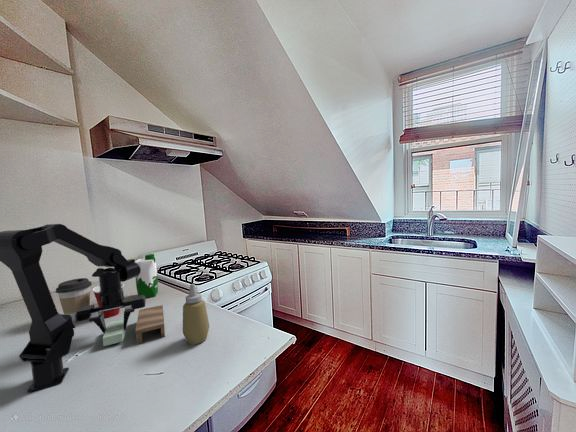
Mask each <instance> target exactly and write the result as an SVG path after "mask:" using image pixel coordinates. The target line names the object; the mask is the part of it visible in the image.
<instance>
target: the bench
mask: <svg viewBox="0 0 576 432" xmlns="http://www.w3.org/2000/svg"><path fill="white" fill-rule="evenodd" d="M137 313H138V314H137V321H136V327H135V338H136V345H141V344H143V341H144V340H143V333H146V332H149V331H154V330H158V329H160V335H161V338H165V337H166V331H165V317H164V316H165V315H164V305H163V304H161V305H156V306H151V307H146V308H140V309H138V312H137Z"/></svg>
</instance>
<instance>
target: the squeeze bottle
mask: <svg viewBox="0 0 576 432" xmlns="http://www.w3.org/2000/svg"><path fill="white" fill-rule="evenodd" d="M209 331H210V322H209V317H208V312H207V306H206V301H205V300H203V299H202V294H201V293H199V292H198V291H197V288H196V285H195V283H191V284H190V285H189V292H188V294H187V295H186V296H185V303H184V304H183V306H182V335H183V336H184V338H185V341H186V343H187V344H189V345H198V344H202V343H203V342H204V341H206V340H207V338H208V335H209Z"/></svg>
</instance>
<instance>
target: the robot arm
mask: <svg viewBox="0 0 576 432" xmlns="http://www.w3.org/2000/svg"><path fill="white" fill-rule="evenodd" d="M53 242H54V243H56V244H58V245H61V246H63V247H65V248H67V249H69V250H71V251H74V252H76V253H78V254H81V255H82V256H85V257H86V258H87V260H88V261H89V262H90V263H91V264H93V265H94V266H96V267H98V268H97V269H96V270H95V271H94V272H93V273H92V275H91V277H92V278H97V277H98V282H99V285H100V292H99V300H100V301H102V306H100V307H99V306H95V305H94V304H90V305H89V306H83V307H81V308H80V309H79V310H78V311H77V312H76V314H75V320H76V321H75V322H76V323H77V322H81V321H86V320H88V321H89V322H93V323H94V324H95V325H96V326H98V328H99V329H100V331H101V332H102V333H103V335H104V334H105V331H106V329H107V325H106V320H105V318H104V312H105V311H110V310H115V309H120V310H121V309H123V308H124V311H123V319H124V330H125V331H126V330H127V325H128V320H129V317H130V316H131V313H134V312H135V310H140V309H144V308H145V307H146V298H145V296H144V295H140V296H138V295H136V296H132V297H131V300H130V299H129V300H126V301H124V300H125V296H124V289H122V288H121V283H122V282H123V283H124V282H127V281H129V280H131V279H134V278H135V277H137V276H138V275H139V274H140V271H141V269H140V267H139V265H138V264H137V263H135V261H136V260H135V259H134V258H130V259H126V258H125V256H124V255H123V254H122V251H121V249H118V248H116V247H113V246H108V245H102V244H99V243H97V242H95V241H93V240H91V239H89V238H88V237H85V236H83V235H82V234H79V233H77V232H76V231H74V230H73V229H70V228H69V227H67V226H66V225H65V224H61V223H51V224H48V223H47V224H44V225H42V226H39V227H33V228H29V229H18V230H15V229H14V230H4V231H3V230H2V231H0V262H1V263H2V264H3V265H4V266H6V267H7V268H8V269H9V270H10V271H11V273H12V275H13V278H14V280H15V283H16V285H17V288H18V290H19V292H20V296H21V298H22V299H23V303H24V304H25V308H26V309H27V312H28V314H29V316H30V319H31V324H30V327H29V331H28V335H29V341H28V343H27V344H26V346H24V348H23V349H22V351H21V353H20V354H19V356H18V358H19V359H20V360H21V361H22V362H24V363H25V362H29V363H30V367H31V375H32V382H31V384H30V386H29V387H28V388H27V390H26V391H27V392H26V393H32V392H35V391H38V390H43V389H46V388H49V387H52V386H55V385H58V384H61V383H63V381H64V379H65V377H66V375H67V373H68V372H69V370H70V367H64V362H63V357H64V356H66V355H68V354H70V351H71V345H72V342H73V337H74V336H75V328H76V325H74V322H72V317H71V316H70V315H65V314H64V313H61V314H60V313H59V312H58V309H57V307H56V304H55V302H54V298H53V297H52V294H51V291H50V288H49V286H48V282H47V280H46V277H45V274H44V273H43V269H42V267H41V264H40V261H41V256H42V255H43V246H46V245H49V244H51V243H53ZM100 267H101V268H100ZM103 267H105V268H103Z"/></svg>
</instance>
